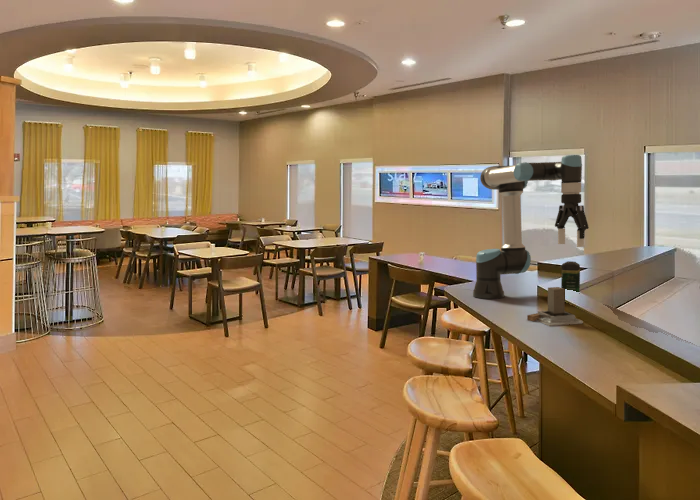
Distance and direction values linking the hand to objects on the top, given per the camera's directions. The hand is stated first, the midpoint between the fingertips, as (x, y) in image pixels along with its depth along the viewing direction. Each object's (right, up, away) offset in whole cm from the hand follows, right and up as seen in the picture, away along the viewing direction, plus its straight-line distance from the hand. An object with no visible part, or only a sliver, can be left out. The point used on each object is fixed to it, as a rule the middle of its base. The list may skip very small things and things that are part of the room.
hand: (570, 245), depth 209 cm
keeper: (-9, -30, -8) cm, 32 cm away
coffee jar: (+12, -26, +28) cm, 40 cm away
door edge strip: (-12, -30, -2) cm, 32 cm away
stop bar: (-9, -29, -8) cm, 31 cm away
